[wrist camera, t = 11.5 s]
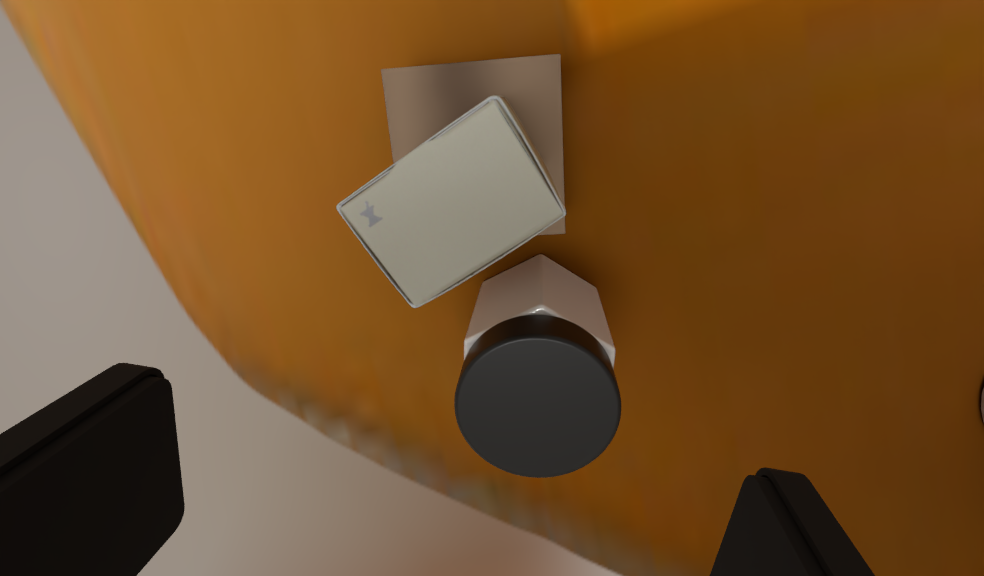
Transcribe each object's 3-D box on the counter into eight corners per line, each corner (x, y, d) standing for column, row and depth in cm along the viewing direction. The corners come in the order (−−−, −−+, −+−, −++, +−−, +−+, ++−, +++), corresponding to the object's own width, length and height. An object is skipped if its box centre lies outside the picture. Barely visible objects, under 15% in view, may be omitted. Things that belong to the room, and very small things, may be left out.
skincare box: (452, 227, 29) (405, 319, 17) (405, 159, 28) (323, 211, 16) (553, 163, 27) (573, 217, 16) (508, 88, 26) (496, 90, 15)
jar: (453, 327, 37) (416, 425, 26) (513, 233, 35) (502, 298, 23) (557, 388, 38) (565, 509, 27) (625, 302, 36) (664, 396, 24)
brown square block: (556, 61, 31) (560, 53, 25) (560, 211, 34) (565, 233, 28) (408, 74, 32) (380, 69, 26) (425, 218, 35) (404, 241, 29)
